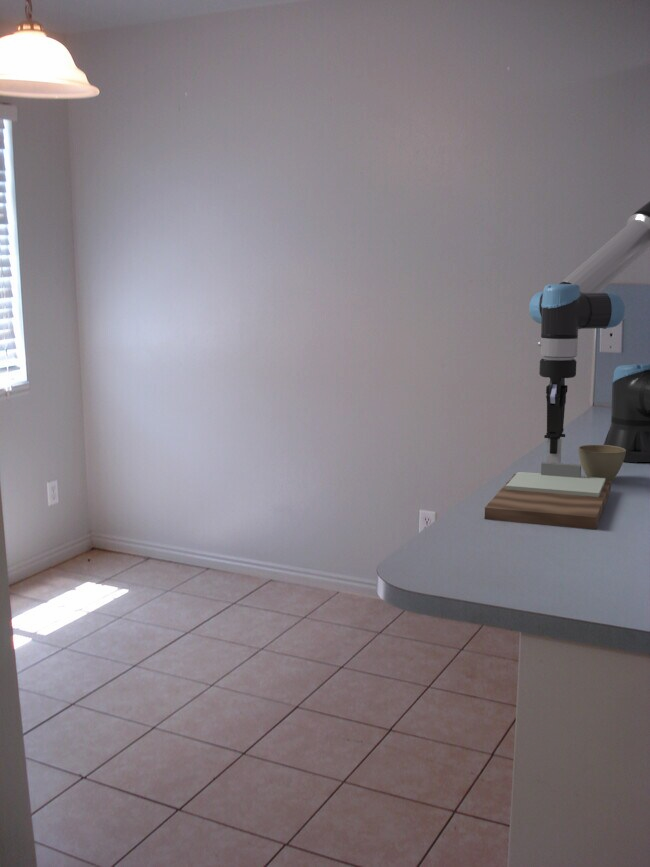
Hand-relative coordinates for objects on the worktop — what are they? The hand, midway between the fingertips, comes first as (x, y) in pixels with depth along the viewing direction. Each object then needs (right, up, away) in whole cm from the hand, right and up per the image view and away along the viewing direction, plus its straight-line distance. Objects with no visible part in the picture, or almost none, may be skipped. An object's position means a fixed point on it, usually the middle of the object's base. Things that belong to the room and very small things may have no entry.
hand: (553, 467), depth 203 cm
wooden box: (-4, -7, -16) cm, 18 cm away
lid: (-2, -3, -10) cm, 11 cm away
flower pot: (+12, -3, +5) cm, 13 cm away
